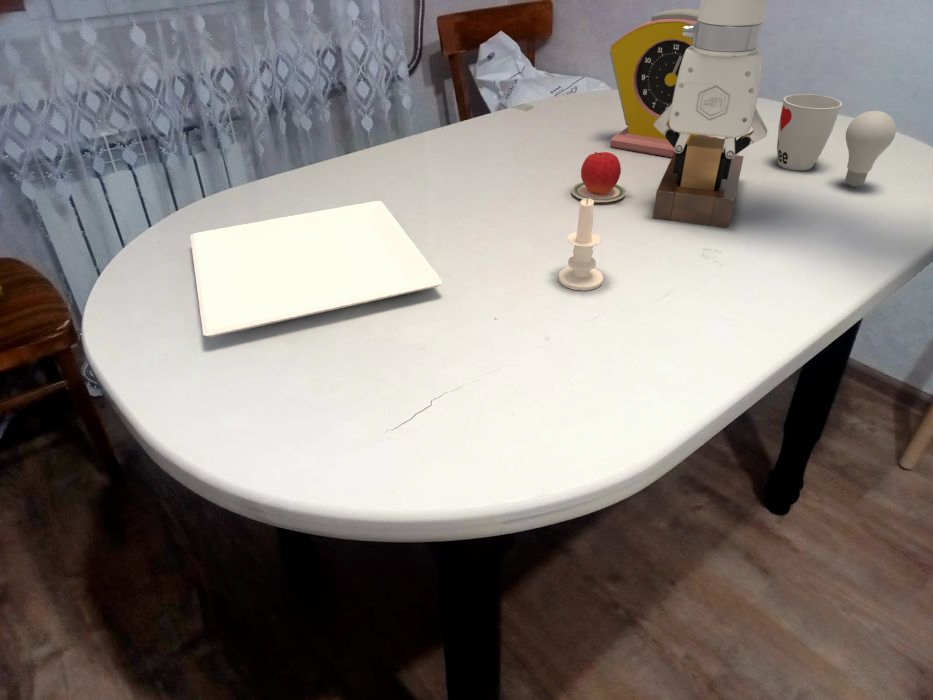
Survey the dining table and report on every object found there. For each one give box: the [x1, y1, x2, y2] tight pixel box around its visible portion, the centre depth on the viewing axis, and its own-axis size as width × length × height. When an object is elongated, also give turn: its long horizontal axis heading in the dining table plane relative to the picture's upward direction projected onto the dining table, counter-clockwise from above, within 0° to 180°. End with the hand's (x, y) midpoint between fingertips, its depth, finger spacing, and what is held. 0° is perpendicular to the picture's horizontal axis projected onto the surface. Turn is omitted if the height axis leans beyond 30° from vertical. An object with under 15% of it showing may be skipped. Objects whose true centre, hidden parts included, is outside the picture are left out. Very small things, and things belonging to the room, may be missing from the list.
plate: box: [189, 200, 444, 338], centre depth 81 cm, size 26×26×2 cm
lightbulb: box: [844, 110, 897, 188], centre depth 95 cm, size 6×6×11 cm
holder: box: [652, 152, 745, 229], centre depth 95 cm, size 10×18×4 cm, turn 157°
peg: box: [680, 136, 725, 191], centre depth 90 cm, size 4×4×8 cm
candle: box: [558, 197, 604, 292], centre depth 75 cm, size 5×5×10 cm
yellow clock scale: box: [609, 7, 719, 159], centre depth 108 cm, size 22×9×22 cm, turn 56°
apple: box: [571, 151, 627, 203], centre depth 97 cm, size 8×8×6 cm
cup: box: [776, 93, 843, 171], centre depth 103 cm, size 8×8×10 cm
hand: (699, 179), depth 91 cm, fingers closed on peg, 4 cm apart
